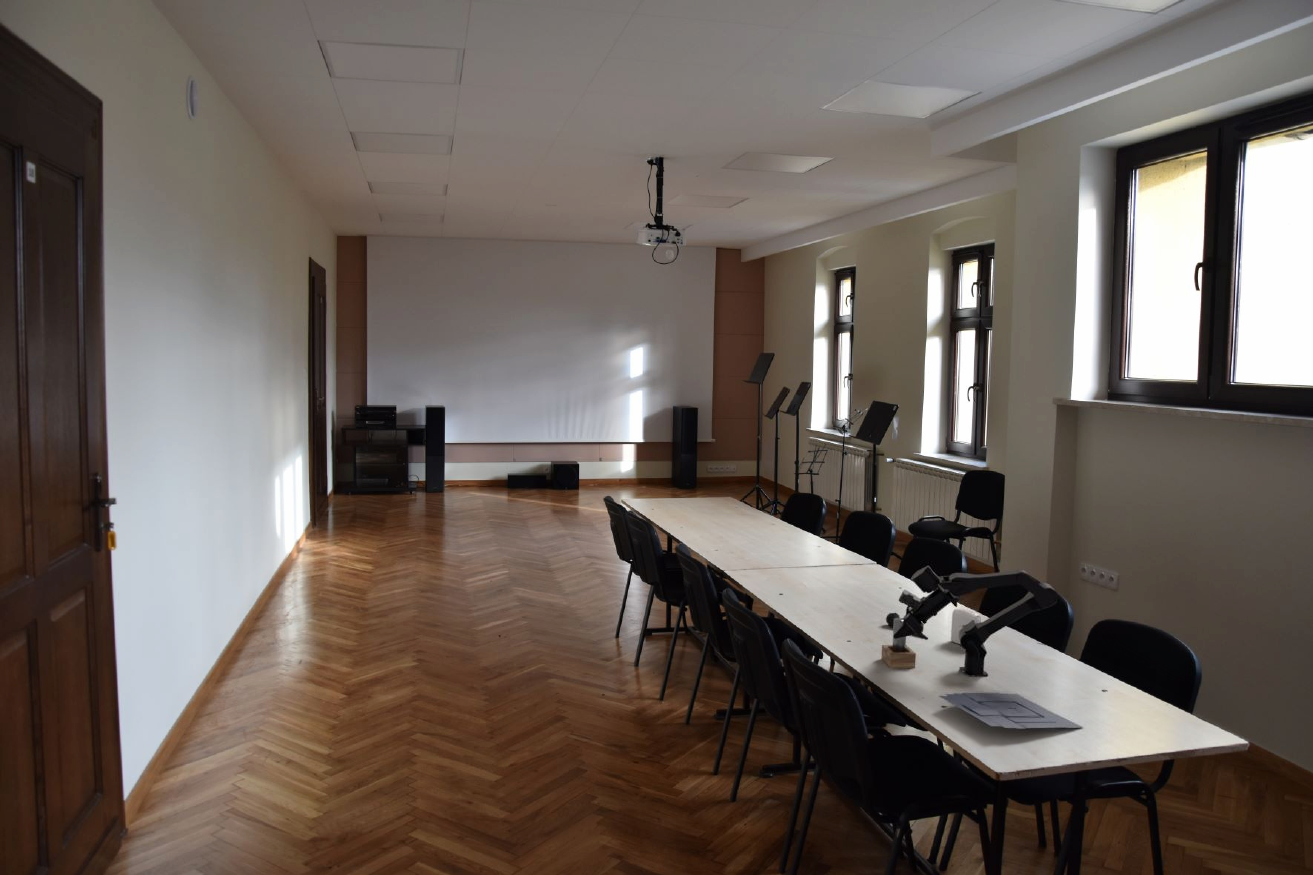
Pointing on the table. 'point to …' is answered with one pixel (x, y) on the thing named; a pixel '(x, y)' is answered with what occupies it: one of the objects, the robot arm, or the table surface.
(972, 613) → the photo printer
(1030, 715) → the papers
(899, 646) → the pin
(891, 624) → the microphone
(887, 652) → the socket block
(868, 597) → the table surface
